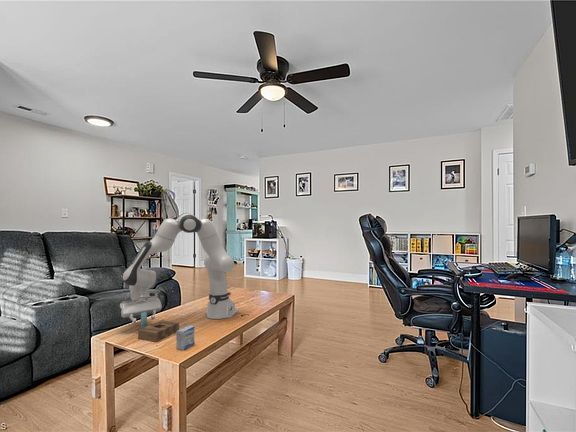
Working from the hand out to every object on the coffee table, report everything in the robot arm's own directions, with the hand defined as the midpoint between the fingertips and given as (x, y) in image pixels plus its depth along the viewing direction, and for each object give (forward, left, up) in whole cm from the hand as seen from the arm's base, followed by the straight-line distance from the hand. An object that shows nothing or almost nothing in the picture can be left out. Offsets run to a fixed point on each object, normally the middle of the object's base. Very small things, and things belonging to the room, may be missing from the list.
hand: (144, 320), depth 158 cm
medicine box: (+8, +35, -6) cm, 36 cm away
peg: (0, 0, -6) cm, 6 cm away
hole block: (+1, +12, -6) cm, 13 cm away
